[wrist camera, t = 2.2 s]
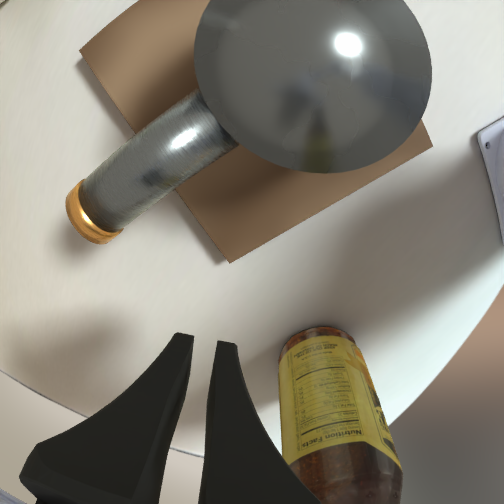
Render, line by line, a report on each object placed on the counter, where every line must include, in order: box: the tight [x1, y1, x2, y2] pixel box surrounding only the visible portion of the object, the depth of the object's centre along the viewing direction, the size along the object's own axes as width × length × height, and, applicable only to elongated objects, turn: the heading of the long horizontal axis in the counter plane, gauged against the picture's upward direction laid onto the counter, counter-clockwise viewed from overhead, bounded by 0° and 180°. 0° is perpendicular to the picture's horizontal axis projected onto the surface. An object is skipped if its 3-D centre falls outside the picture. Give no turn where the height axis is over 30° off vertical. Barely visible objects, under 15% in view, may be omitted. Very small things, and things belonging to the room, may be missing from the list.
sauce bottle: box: [278, 327, 403, 504], centre depth 14 cm, size 7×6×20 cm
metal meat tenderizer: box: [66, 0, 432, 244], centre depth 11 cm, size 16×9×3 cm, turn 123°
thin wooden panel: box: [79, 0, 433, 263], centre depth 14 cm, size 16×14×4 cm
